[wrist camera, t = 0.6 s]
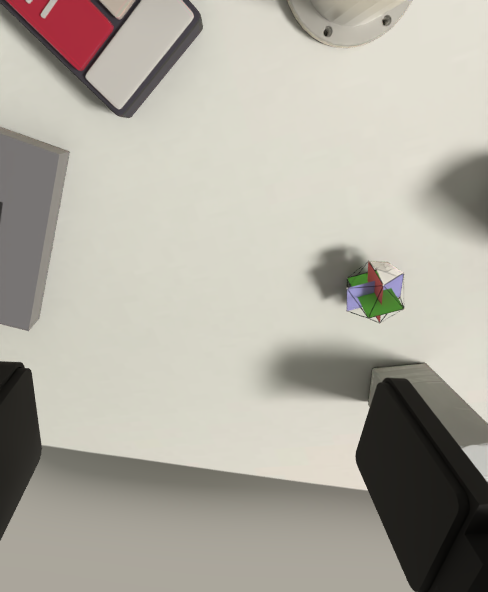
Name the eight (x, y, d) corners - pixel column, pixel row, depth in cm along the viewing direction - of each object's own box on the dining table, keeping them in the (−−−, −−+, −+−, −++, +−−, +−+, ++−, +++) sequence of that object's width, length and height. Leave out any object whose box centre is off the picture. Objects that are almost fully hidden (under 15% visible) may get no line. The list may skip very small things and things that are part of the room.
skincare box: (366, 402, 56) (420, 499, 42) (372, 361, 53) (432, 451, 39) (421, 398, 57) (494, 492, 42) (430, 357, 54) (512, 444, 39)
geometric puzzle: (401, 318, 48) (426, 308, 40) (348, 332, 48) (363, 325, 41) (383, 265, 50) (403, 246, 42) (332, 279, 50) (343, 262, 42)
